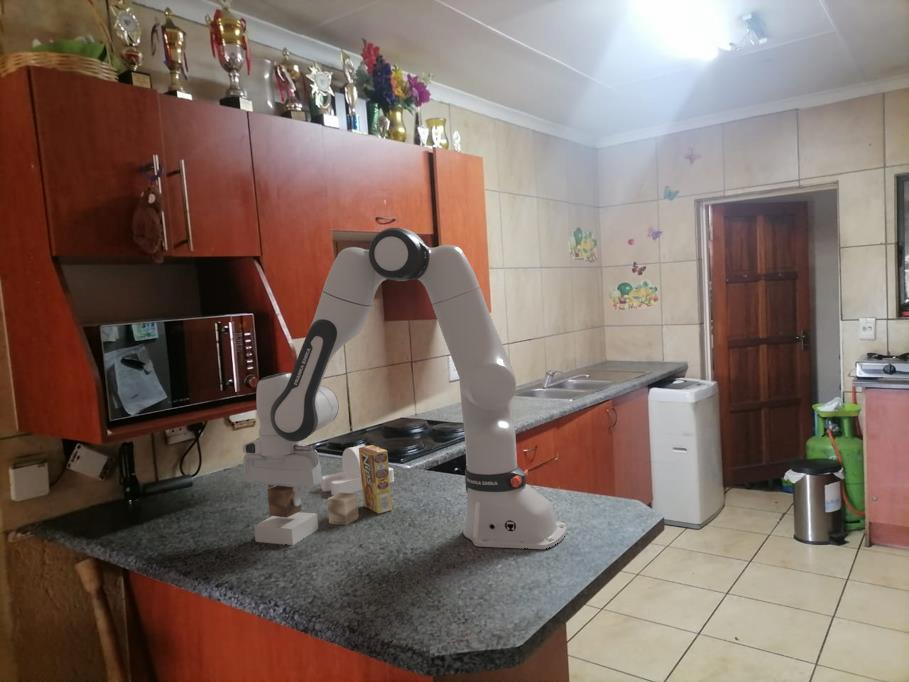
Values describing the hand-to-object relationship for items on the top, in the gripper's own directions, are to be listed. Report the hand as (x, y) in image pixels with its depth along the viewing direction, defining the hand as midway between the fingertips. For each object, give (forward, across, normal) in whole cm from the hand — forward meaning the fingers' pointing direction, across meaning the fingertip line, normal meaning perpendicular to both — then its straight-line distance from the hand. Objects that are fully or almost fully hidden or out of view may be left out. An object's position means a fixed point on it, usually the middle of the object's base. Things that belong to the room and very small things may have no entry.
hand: (285, 504), depth 148 cm
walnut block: (+2, 0, 0) cm, 2 cm away
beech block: (+7, -7, -12) cm, 16 cm away
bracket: (+8, +7, -38) cm, 39 cm away
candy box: (+8, -10, -22) cm, 25 cm away
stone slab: (+8, 0, 0) cm, 8 cm away
